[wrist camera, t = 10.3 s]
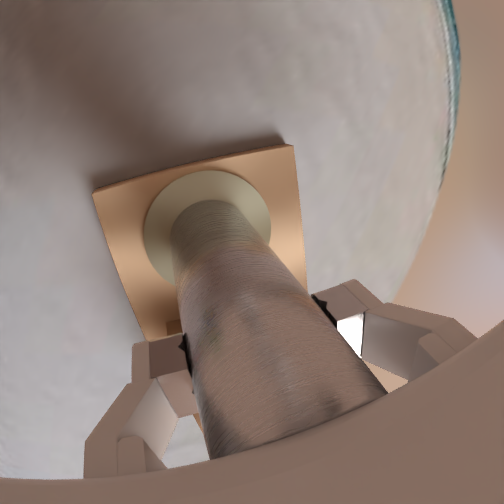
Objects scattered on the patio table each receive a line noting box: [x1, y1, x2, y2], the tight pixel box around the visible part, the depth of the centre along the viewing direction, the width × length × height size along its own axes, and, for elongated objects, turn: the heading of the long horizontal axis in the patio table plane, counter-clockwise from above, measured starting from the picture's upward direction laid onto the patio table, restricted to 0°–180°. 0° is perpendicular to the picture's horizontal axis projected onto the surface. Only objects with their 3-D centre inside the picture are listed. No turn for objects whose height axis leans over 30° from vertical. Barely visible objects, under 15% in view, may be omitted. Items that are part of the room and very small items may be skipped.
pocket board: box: [92, 144, 308, 432], centre depth 17 cm, size 16×10×5 cm, turn 9°
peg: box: [170, 199, 388, 460], centre depth 11 cm, size 4×4×12 cm
